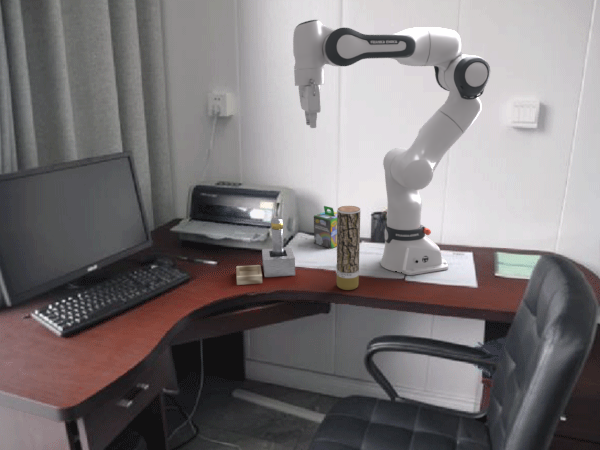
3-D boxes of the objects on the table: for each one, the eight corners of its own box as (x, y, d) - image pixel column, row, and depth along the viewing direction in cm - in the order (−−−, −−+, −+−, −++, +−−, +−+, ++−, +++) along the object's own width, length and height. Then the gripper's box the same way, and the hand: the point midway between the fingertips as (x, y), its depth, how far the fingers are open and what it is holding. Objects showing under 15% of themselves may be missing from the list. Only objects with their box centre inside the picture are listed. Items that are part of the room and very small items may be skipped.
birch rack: (260, 272, 167) (260, 264, 166) (262, 283, 158) (262, 275, 158) (236, 273, 166) (236, 266, 165) (236, 284, 157) (236, 277, 157)
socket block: (291, 263, 173) (291, 247, 172) (295, 275, 164) (294, 258, 162) (262, 265, 172) (262, 249, 170) (264, 277, 163) (263, 260, 161)
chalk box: (347, 243, 192) (347, 206, 188) (330, 249, 186) (330, 211, 182) (329, 237, 199) (329, 201, 194) (313, 243, 193) (312, 206, 188)
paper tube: (357, 291, 152) (359, 212, 144) (335, 290, 153) (335, 211, 145) (359, 282, 158) (361, 206, 150) (338, 281, 159) (338, 205, 152)
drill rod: (283, 267, 170) (282, 217, 165) (284, 272, 167) (283, 220, 161) (272, 268, 170) (270, 217, 164) (273, 272, 166) (271, 221, 161)
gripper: (325, 78, 139) (326, 129, 143) (315, 78, 159) (316, 123, 163) (302, 79, 139) (304, 130, 143) (295, 79, 158) (297, 124, 162)
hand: (311, 126), depth 153 cm, fingers open, 8 cm apart
